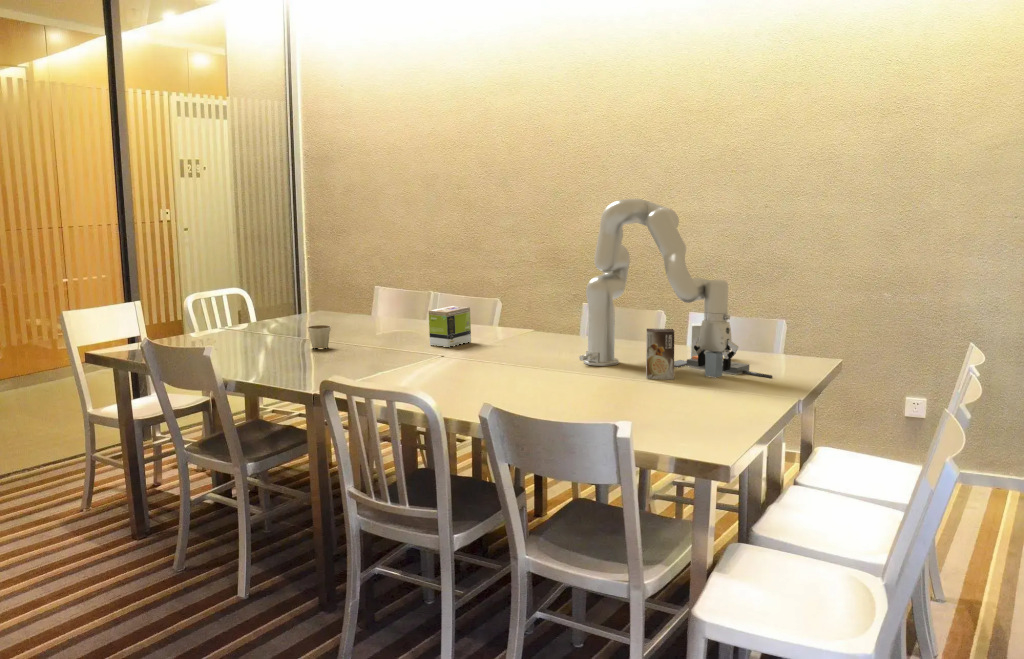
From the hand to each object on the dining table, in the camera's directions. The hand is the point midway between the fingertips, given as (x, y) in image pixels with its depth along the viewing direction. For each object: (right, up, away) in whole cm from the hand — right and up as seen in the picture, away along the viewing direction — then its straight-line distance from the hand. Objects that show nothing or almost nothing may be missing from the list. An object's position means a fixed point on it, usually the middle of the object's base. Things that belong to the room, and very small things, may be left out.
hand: (713, 367), depth 283 cm
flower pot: (-144, +5, +53) cm, 153 cm away
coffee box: (-19, -3, -2) cm, 19 cm away
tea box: (-93, +7, +60) cm, 110 cm away
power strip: (+8, -1, +7) cm, 10 cm away
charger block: (0, -3, +1) cm, 3 cm away
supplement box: (+2, +2, +30) cm, 30 cm away
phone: (-8, 0, +19) cm, 21 cm away
